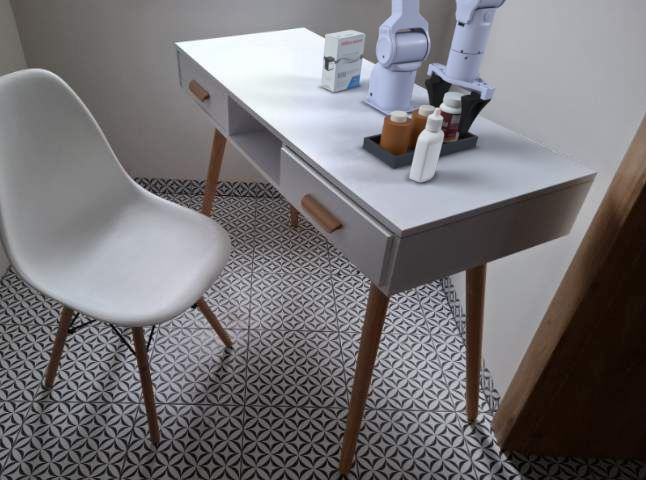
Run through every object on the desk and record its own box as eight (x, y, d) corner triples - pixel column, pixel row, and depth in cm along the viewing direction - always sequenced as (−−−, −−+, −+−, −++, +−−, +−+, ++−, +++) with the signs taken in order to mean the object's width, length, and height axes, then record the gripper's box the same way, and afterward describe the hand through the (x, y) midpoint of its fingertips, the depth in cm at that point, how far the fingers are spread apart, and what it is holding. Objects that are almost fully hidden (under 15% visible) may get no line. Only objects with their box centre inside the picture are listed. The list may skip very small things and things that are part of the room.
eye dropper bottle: (442, 180, 88) (460, 111, 81) (414, 184, 87) (430, 115, 79) (428, 168, 92) (445, 101, 84) (401, 172, 90) (415, 105, 82)
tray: (362, 147, 97) (363, 137, 96) (442, 129, 105) (444, 119, 104) (393, 168, 91) (395, 157, 90) (475, 147, 99) (478, 136, 98)
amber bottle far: (373, 148, 96) (379, 110, 91) (394, 143, 98) (401, 106, 93) (390, 159, 92) (397, 121, 88) (411, 154, 94) (419, 116, 90)
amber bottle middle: (400, 142, 98) (407, 104, 94) (420, 137, 100) (428, 100, 96) (418, 152, 95) (426, 114, 90) (438, 147, 97) (447, 110, 92)
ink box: (345, 80, 126) (351, 28, 119) (359, 86, 123) (367, 33, 116) (319, 86, 122) (324, 33, 114) (333, 93, 119) (339, 38, 112)
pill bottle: (427, 134, 101) (437, 92, 96) (447, 131, 103) (458, 89, 97) (441, 145, 98) (452, 101, 92) (462, 141, 99) (474, 98, 94)
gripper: (516, 58, 86) (492, 135, 95) (454, 36, 96) (437, 107, 105) (486, 63, 84) (464, 142, 92) (425, 40, 93) (411, 113, 102)
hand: (448, 124), depth 98 cm, fingers open, 7 cm apart
